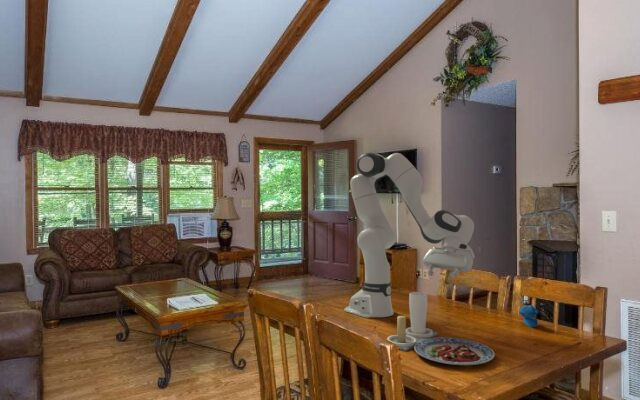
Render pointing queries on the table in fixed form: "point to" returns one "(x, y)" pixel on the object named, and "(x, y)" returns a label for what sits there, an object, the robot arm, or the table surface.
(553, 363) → the table surface
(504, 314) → the table surface
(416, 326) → the drinking glass
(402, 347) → the candle holder dish
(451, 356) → the ceramic plate
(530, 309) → the blue lumpy upright piece
